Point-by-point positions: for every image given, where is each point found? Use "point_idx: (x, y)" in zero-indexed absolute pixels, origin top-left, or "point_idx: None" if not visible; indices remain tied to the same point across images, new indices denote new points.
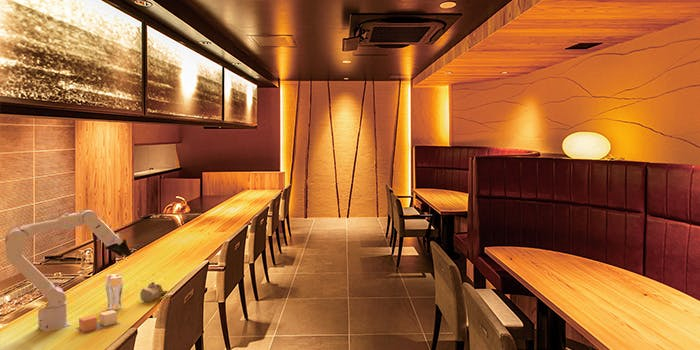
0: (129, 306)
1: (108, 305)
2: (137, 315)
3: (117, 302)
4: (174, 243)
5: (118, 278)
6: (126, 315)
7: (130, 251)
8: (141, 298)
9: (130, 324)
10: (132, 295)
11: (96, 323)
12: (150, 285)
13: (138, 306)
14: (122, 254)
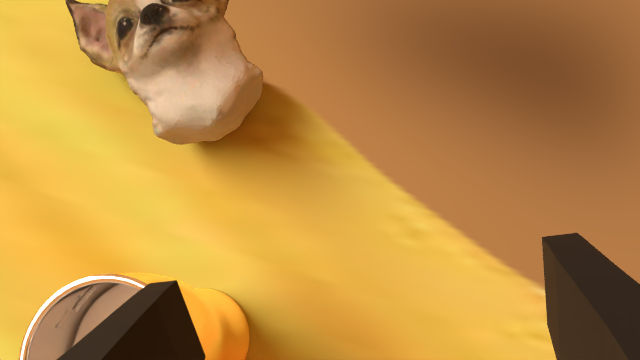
0: (232, 243)
1: None
2: (455, 259)
3: (232, 332)
4: None
5: None
6: (407, 318)
7: (600, 254)
8: (190, 142)
9: None
10: (9, 152)
11: None
12: (175, 45)
13: (274, 194)
14: (191, 319)
